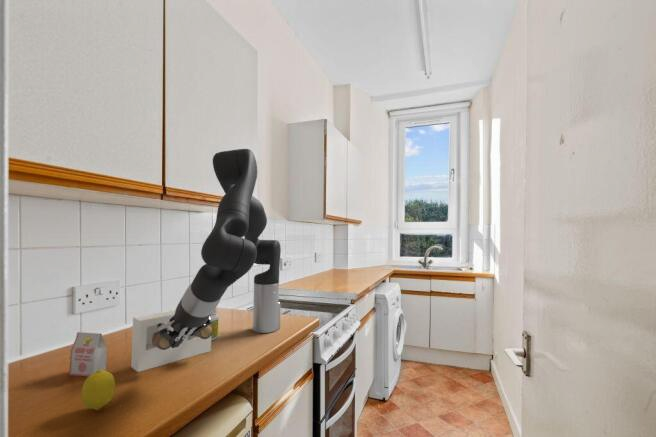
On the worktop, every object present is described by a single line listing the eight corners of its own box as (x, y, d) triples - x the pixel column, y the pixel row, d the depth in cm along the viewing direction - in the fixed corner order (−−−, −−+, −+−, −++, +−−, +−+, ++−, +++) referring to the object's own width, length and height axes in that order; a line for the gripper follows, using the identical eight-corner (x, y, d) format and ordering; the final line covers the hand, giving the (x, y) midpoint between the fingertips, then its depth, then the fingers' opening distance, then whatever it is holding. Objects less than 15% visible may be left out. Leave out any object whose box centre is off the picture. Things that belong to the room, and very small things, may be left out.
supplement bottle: (212, 341, 104) (213, 311, 104) (197, 340, 105) (198, 310, 106) (220, 336, 109) (221, 307, 110) (206, 335, 110) (207, 307, 111)
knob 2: (203, 332, 95) (203, 318, 95) (213, 337, 91) (214, 321, 91) (189, 336, 91) (189, 320, 92) (199, 341, 87) (199, 325, 88)
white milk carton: (83, 368, 83) (84, 329, 83) (105, 370, 82) (107, 331, 82) (69, 374, 79) (71, 334, 79) (93, 377, 78) (94, 335, 78)
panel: (202, 346, 99) (204, 304, 100) (210, 350, 96) (212, 307, 96) (131, 366, 84) (133, 317, 85) (137, 372, 81) (139, 320, 81)
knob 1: (165, 342, 86) (165, 325, 87) (174, 347, 82) (175, 330, 83) (147, 346, 83) (148, 329, 83) (156, 352, 79) (157, 334, 79)
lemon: (117, 409, 64) (119, 369, 64) (83, 421, 60) (85, 378, 60) (110, 399, 67) (111, 361, 68) (77, 410, 63) (79, 369, 64)
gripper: (220, 285, 78) (194, 325, 85) (164, 292, 68) (140, 337, 75) (231, 310, 74) (203, 350, 81) (174, 322, 64) (148, 366, 71)
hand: (173, 344), depth 78 cm, fingers closed
